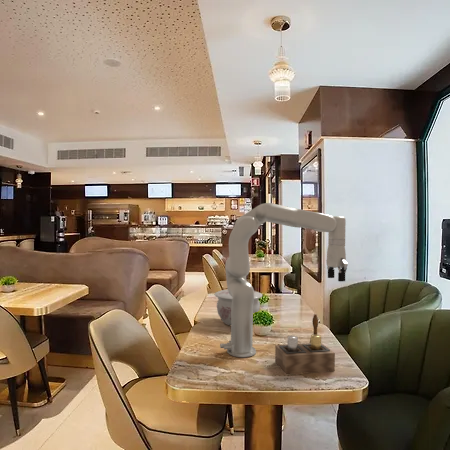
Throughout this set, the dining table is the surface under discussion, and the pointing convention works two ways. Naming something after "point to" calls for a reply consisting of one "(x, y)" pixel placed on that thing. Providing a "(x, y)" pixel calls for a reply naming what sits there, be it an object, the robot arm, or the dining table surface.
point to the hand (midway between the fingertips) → (336, 279)
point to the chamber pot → (226, 304)
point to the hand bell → (315, 324)
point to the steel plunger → (292, 344)
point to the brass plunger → (315, 342)
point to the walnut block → (304, 359)
